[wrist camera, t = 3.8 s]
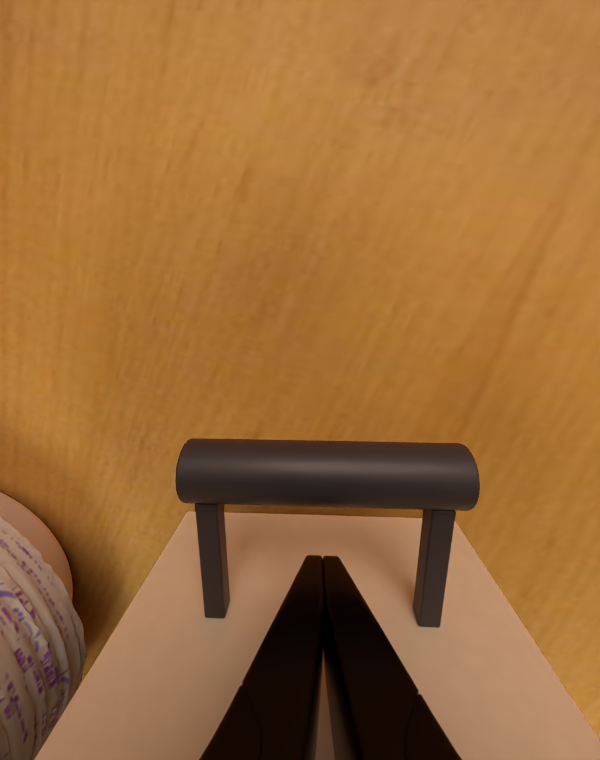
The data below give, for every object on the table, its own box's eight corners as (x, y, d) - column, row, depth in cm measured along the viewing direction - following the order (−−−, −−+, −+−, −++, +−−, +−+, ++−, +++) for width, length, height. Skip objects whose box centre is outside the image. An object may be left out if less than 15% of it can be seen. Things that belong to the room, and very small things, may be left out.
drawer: (175, 392, 12) (-53, 536, 5) (470, 396, 12) (758, 562, 4) (207, 730, 17) (119, 1088, 9) (423, 742, 16) (521, 1131, 9)
